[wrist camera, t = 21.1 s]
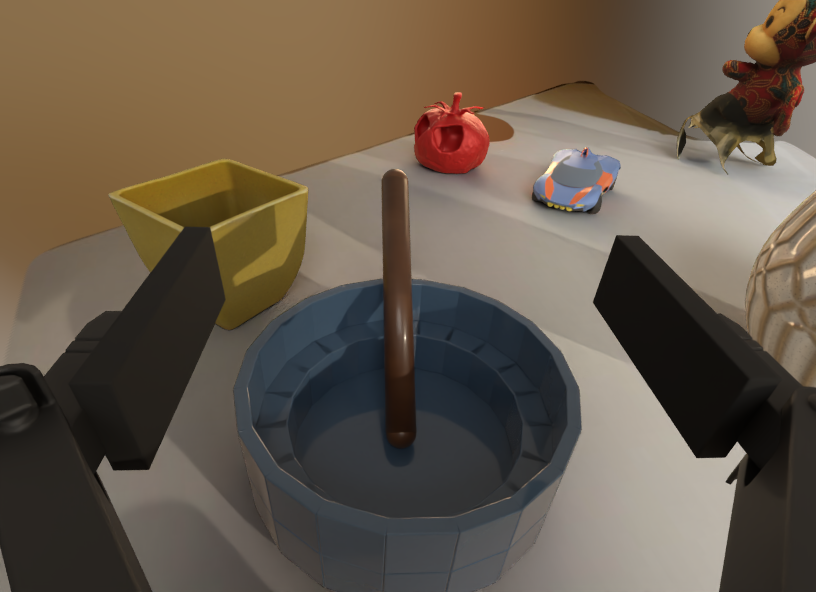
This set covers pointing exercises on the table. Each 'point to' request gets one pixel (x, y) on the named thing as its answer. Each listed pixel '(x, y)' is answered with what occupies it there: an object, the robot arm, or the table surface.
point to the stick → (398, 312)
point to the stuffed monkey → (762, 84)
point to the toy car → (576, 180)
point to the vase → (787, 294)
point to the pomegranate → (450, 138)
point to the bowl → (420, 462)
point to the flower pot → (224, 228)
